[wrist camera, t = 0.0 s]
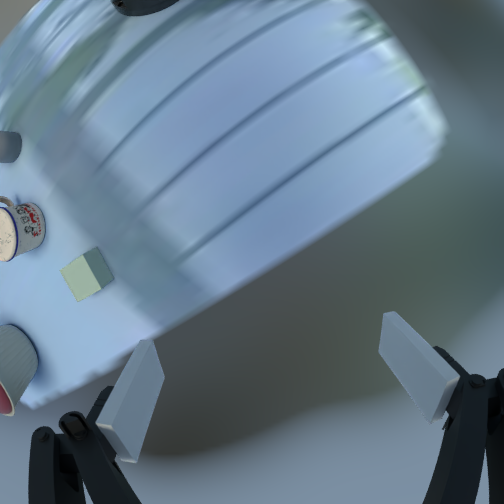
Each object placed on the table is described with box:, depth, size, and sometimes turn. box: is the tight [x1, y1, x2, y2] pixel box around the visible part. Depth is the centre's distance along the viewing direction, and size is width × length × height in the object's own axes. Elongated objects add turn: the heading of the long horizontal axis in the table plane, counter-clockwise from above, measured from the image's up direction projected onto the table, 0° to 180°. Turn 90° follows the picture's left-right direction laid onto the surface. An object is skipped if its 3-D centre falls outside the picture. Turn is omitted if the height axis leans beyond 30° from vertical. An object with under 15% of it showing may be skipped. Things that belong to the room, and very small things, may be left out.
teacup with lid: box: [0, 196, 45, 262], centre depth 33 cm, size 12×9×12 cm
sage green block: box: [60, 247, 114, 302], centre depth 40 cm, size 6×6×5 cm
